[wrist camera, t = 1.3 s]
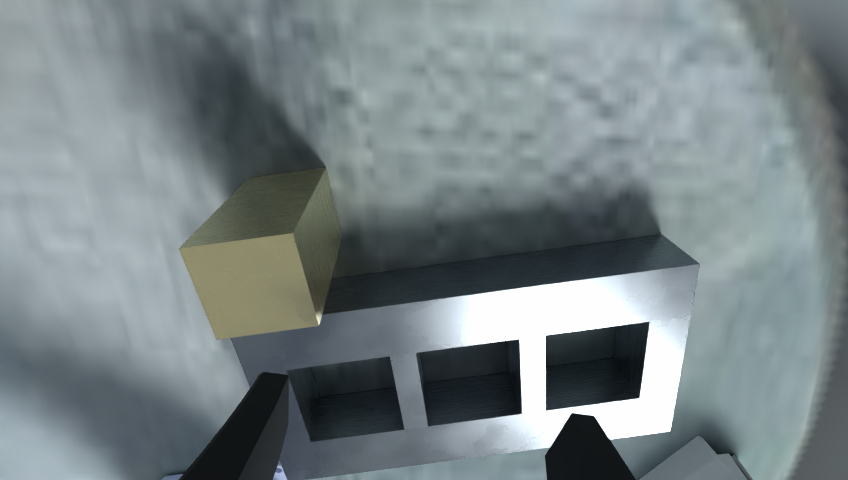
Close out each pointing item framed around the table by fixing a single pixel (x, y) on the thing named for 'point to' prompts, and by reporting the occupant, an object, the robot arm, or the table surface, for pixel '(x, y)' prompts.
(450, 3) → the table surface
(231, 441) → the robot arm
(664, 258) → the grey block holder
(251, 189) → the brass block
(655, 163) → the table surface
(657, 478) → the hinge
